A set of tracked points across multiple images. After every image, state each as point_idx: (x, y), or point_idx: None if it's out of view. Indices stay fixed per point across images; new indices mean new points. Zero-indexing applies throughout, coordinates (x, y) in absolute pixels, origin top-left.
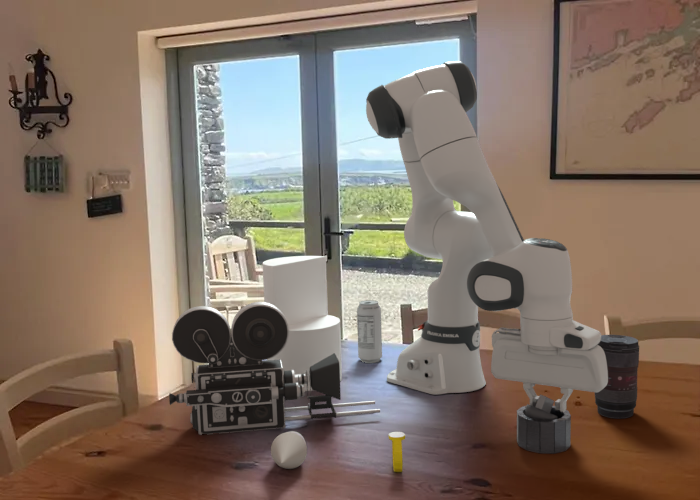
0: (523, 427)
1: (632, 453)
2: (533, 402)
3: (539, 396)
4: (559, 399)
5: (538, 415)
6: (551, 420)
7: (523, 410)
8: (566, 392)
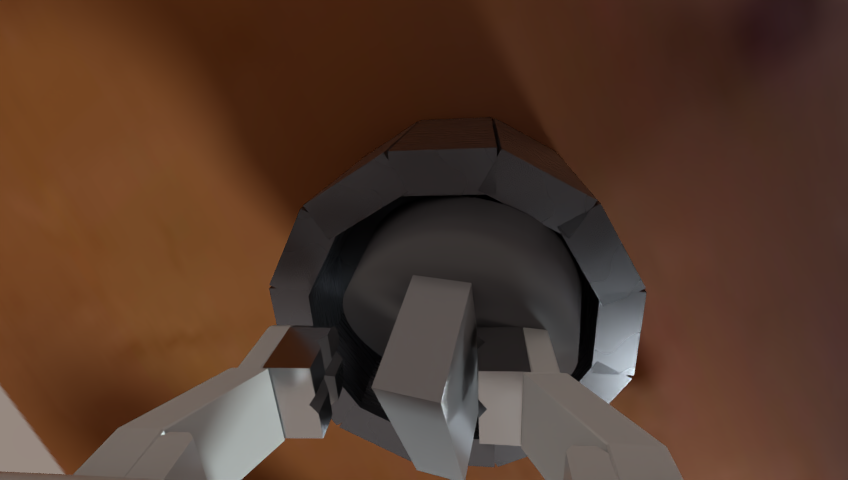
0: (529, 153)
1: (139, 325)
2: (514, 347)
3: (444, 379)
4: (308, 430)
5: (427, 224)
6: (333, 226)
7: (597, 313)
8: (123, 445)
